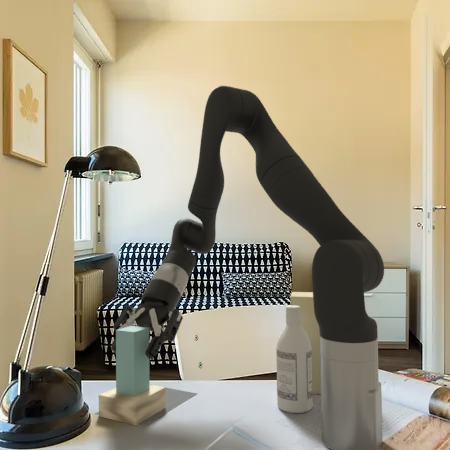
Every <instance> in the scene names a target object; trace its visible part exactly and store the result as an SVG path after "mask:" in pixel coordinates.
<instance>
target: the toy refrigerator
mask: <svg viewBox="0 0 450 450" xmlns="http://www.w3.org/2000/svg"><path fill="white" fill-rule="evenodd" d="M289 299H290V305H296V306H300V308H301V326H302V327H303V329H304V330H305V332H306V333H307V335H308V337H309V340H310V343H311V349H312V395H321V381H320V331H319V325H318V322H317V320H316V317H315V313H314V302H313V291H312V292H311V291H291V294H290V298H289ZM290 305H289V306H290Z"/></svg>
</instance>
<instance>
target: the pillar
mask: <svg viewBox="0 0 450 450" xmlns="http://www.w3.org/2000/svg"><path fill="white" fill-rule="evenodd" d="M115 337H116V353H115V375H116V376H115V385H116V386H115V387H116V393H120V394H124V395H129V396H134V397H135V396H137V395H139V394H141V393H143V392H145V391H147V390H149V389H150V386H149V384H150V359H149V358H148V357H147V356H146V355H145V351H146V349H147V347H148V345H149V344H150V330H149V328H147V327H138V326H137V325H134V326H129V327H125V328H122V329H118V330H115Z"/></svg>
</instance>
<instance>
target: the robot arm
mask: <svg viewBox="0 0 450 450" xmlns="http://www.w3.org/2000/svg"><path fill="white" fill-rule="evenodd" d="M202 121H203V122H202V130H201V135H200V145H199V156H198V163H197V170H196V173H195V178H194V182H193V185H192V189H191V192H190V196H189V199H188V203H187V204H188V205H187V209H188V212H190V214H192V215H193V216H195V217H196V218H197V219H198V220H200V222H199V221H196V220H193V219H192V218H187V217H183V218H181V219H179V220H177V222H176V223H175V224H174V226H173V229H172V235H171V241H170V245H169V248H168V251H167V253H166V256H165V257H164V259H163V260H162V262H161V263H160V266H159V267H158V268H157V269H156V271H155V273H154V274H153V276H152V278H151V280H150V281H149V283H148V285H147V287H146V288H145V289H144V292H143V294H142V295H141V300H140V304H139V305H138V306H137V307H136V308H135V307H134V308H133V307H132V306H131V305H130V304H126V305H125V307H124V308H123V310H122V311H121V312H120V315H119V316H118V318H117V319H116V321H115V322H114V324H113V325H112V328H113V329H114V331H116V330H118V329H122V328H125V327H129V326H135V324H136V326H138V327H147V328H149V332H154V335H155V336H152V338H151V340H150V341H149V345H148V347H147V349H146V351H145V355H146V356H147V357H148V358H149V360H153V359H154V358H155V357H156V356H157V355H158V353H159V351H160V349H161V347H162V345H163V344H164V343H166V342H167V341H169V342H173V341H174V340H175V339H176V335H177V333H178V331H179V329H180V326H181V324H182V320H183V319H184V317H183V315H182V314H181V312H180V311H179V310H178V309H177V306H178V303H179V302H180V299H181V298H182V295H183V293H184V291H185V290H186V288H187V283H188V281H189V278H190V277H191V275H192V273H193V270H194V269H195V267H196V264H197V258H196V256H195V254H194V253H198V254H200V255H205V254H206V255H207V254H208V253H209V252H211V250H212V249H213V248H214V246H215V243H216V236H217V235H216V232H217V231H216V224H217V223H216V221H217V212H218V209H219V206H220V203H221V199H222V196H223V193H224V188H225V174H224V170H223V166H222V164H223V163H222V160H221V146H222V141H223V139H224V136H225V134H226V132H227V133H235V134H236V133H237V134H239V135H240V136H242V137H243V138H244V139H245V140H246V141H247V142H248V143H249V145H250V146H251V148H252V149H253V151H254V153H255V173H256V177H257V181H258V182H259V184H260V186H261V187H262V189H263V190H264V192H265V193H266V195H267V196H268V198H269V199H270V200H271V201H272V203H273V204H274V205H275V206H276V207H277V208H278V209H279V210H280V211H281V212H282V213H283V214H284V215H286V216H287V217H289V219H291V220H292V221H293V222H295V223H296V224H298V226H300V227H302V229H304V230H305V231H306V232H308V233H309V234H310V235H311V236H312V237H313V238H314V240H315V241H316V242H317V243H318V244H319V247H318V248H317V249H316V251H315V253H314V256H313V258H312V259H313V260H312V264H311V285H312V292H313V302H314V313H315V317H316V320H317V322H318V325H319V331H320V381H321V394H320V418H321V419H320V420H321V423H320V424H321V425H320V428H321V429H320V430H321V441H322V443H323V445H324V446H326V448H328V447H329V449H330V450H331V449H332V450H380V449H381V446H382V443H383V440H384V439H383V437H384V435H383V432H384V431H383V403H382V402H383V400H382V399H383V397H382V382H381V381H380V380H379V346H378V345H379V343H378V334H379V333H378V323H377V322H376V320H375V319H374V318H372V317H370V316H369V315H368V313H367V311H366V302H365V301H366V300H365V293H367V292H370V291H373V290H375V289H376V288H378V287H379V286H380V285H381V283H382V281H383V280H384V275H385V264H384V260H383V258H382V255H381V253H380V252H379V250H378V249H377V248H376V246H375V245H374V243H372V242H371V241H370V240H369V239H368V238H367V236H366V235H364V234H363V233H362V232H361V231H360V230H359V229H358V228H357V227H356V226H355V224H353V223H352V222H351V220H350V219H349V218H348V217H347V216H346V215H345V214H344V212H342V211H341V210H340V208H339V207H338V205H337V204H336V203H335V201H334V199H332V197H331V196H330V195H329V193H328V191H326V189H325V188H324V187H323V184H321V183H320V181H319V180H318V179H317V177H316V176H315V175H314V173H313V172H312V170H311V169H310V168H309V166H308V165H307V164H306V163H305V161H304V160H303V159H302V157H301V156H300V155H299V154H298V153H297V151H295V149H294V148H293V147H292V146H291V145H290V143H289V141H288V140H287V139H286V138H285V136H284V135H283V134H282V133H281V132H280V131H281V130H279V129H278V127H277V126H276V124H275V123H274V121H273V120H272V117H271V116H270V114H269V112H268V111H267V109H266V108H265V106H264V104H263V102H262V101H261V100H260V98H259V97H258V96H257V94H255V93H254V92H252V91H249V90H247V89H244V88H243V89H242V88H237V87H233V86H228V85H219V86H216V87H214V88H213V89H212V91H210V93H209V95H208V97H207V100H206V104H205V108H204V114H203V120H202ZM193 252H194V253H193ZM134 323H135V324H134ZM164 324H166V326H165V325H164ZM110 345H111V346H110V349H111V351H112V352H113V354H116V336H115V338H114V339H113V341H112V342H111V344H110Z"/></svg>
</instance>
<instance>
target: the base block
mask: <svg viewBox="0 0 450 450" xmlns="http://www.w3.org/2000/svg"><path fill="white" fill-rule="evenodd" d="M149 386H150V389H149V390H147V391H145V392H143V393H141V394H139V395H137V396H135V397H134V396H129V395H124V394H120V393H116V386H115V387H113V388H110V389H109V390H106V391H105V392H102V393H99V394H98V412H99V415H98V417H101V418H105V419H108V420H109V419H110V420H114V421H116V422H121V423H125V424H128V425H133V426H138V425H137V424H139V423H141V422H142V421H144V420H146V419H147V418H149V417H151V416H153V415H154V414H156V413H158V412H159V411H161V410H163V409H164V408H166V394H165V386H161V385H155V384H150V383H149Z"/></svg>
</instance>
